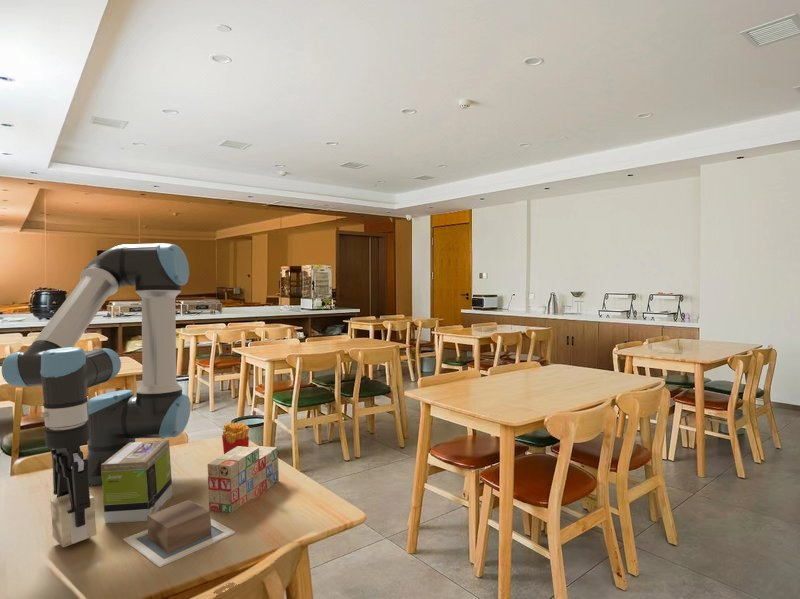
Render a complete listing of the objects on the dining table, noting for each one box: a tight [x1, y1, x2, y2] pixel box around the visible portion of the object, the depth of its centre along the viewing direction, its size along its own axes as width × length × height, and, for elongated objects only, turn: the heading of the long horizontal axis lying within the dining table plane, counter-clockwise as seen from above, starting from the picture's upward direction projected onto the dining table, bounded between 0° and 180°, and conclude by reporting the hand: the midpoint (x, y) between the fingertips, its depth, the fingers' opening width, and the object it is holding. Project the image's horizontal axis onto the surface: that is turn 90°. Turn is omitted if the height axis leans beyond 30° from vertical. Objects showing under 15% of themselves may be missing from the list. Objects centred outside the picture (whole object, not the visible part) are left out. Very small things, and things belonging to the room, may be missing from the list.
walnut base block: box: [147, 499, 212, 553], centre depth 107 cm, size 9×9×5 cm
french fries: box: [221, 422, 250, 455], centre depth 146 cm, size 9×4×13 cm, turn 60°
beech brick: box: [50, 494, 97, 548], centre depth 105 cm, size 6×6×8 cm
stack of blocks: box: [207, 445, 280, 513], centre depth 128 cm, size 21×6×12 cm, turn 164°
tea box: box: [101, 439, 174, 524], centre depth 121 cm, size 15×10×15 cm
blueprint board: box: [123, 518, 236, 569], centre depth 107 cm, size 16×16×1 cm
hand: (73, 534), depth 105 cm, fingers closed on beech brick, 6 cm apart
